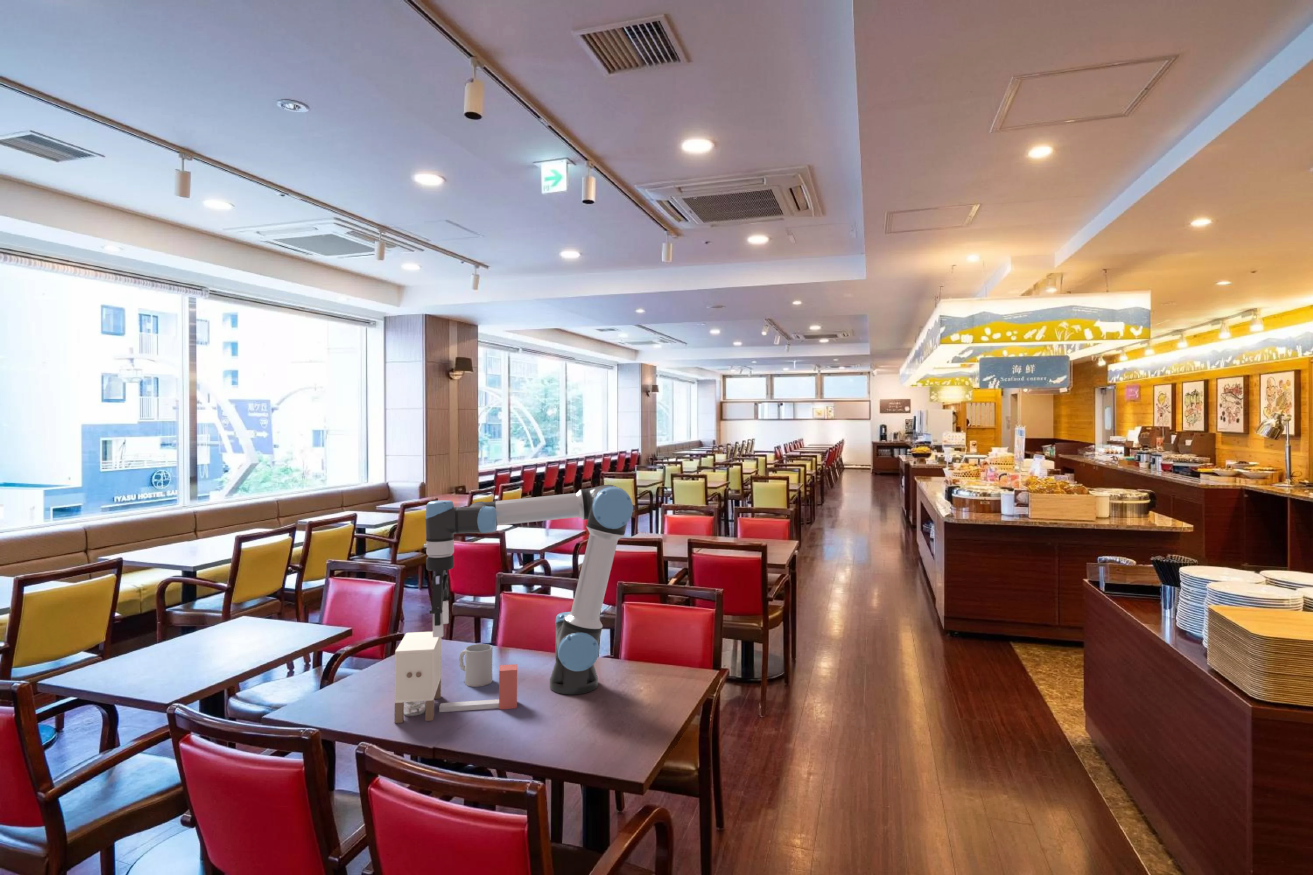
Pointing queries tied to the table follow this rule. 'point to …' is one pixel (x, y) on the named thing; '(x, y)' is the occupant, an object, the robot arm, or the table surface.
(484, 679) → the mug
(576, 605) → the robot arm
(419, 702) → the token
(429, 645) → the cabinet
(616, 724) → the table surface
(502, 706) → the red mallet
